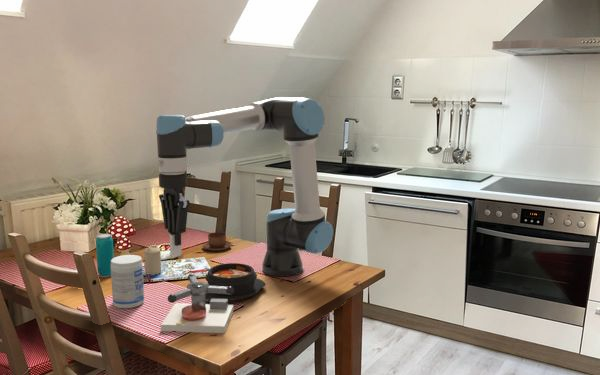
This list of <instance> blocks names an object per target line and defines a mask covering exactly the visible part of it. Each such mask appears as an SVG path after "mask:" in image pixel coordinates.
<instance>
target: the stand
mask: <svg viewBox="0 0 600 375" xmlns="http://www.w3.org/2000/svg"><path fill="white" fill-rule="evenodd" d="M189 305H192V303H185V302H184V303H183V302H182V303H181V302H179V303H177V302H174V305H173V307H172V308H171V309H170V310H169V312H168V313H167V315H166V317H165V318H164V320H162V322H161V324H160V332H170V331H176V333H206V334H208V333H210V334H211V333H212V334H225V333H226V331H227V328H228V327H229V326H228V325H229V323H230V320H231V319H232V317H233V316H232V315H233V313H234V311H235V310H234V304H229V301H228V299H211V300H210V302H209V303H205V306H206V316H205V317H204V318H202V319H200V320H194V321H190V320H185V319H183V318H182V309H183V308H184V307H186V306H189Z"/></svg>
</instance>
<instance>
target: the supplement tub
mask: <svg viewBox="0 0 600 375" xmlns="http://www.w3.org/2000/svg"><path fill="white" fill-rule="evenodd" d="M143 268H144V267H143V258H142V256H140V255H137V254H123V255H118V256H114V258H113V259H112V260H111V277H110V280H111V290H112V291H111V293H112V294H111V295H112V303H113V306H114V307H115V308H118V309H133V308H137V307H139V306H141V305H142V304H143V303H144V302H145V290H144V289H145V286H144V269H143Z"/></svg>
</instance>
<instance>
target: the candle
mask: <svg viewBox="0 0 600 375" xmlns="http://www.w3.org/2000/svg"><path fill="white" fill-rule="evenodd" d="M161 254H162V253H161V249H160V248H159V247H158V246H157V245H153V246H152V245H150V246H148V247H147V248H146V249H145V250H144V261H145V262H144V264H145V265H144V266H145V274H146V273H148V274H158V275H160V274H161V273H162V260H161V259H162V257H161ZM159 273H160V274H159Z"/></svg>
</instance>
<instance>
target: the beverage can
mask: <svg viewBox="0 0 600 375" xmlns="http://www.w3.org/2000/svg"><path fill="white" fill-rule="evenodd" d="M112 236H113V235H112V234H111V233H100V234H97V235H96V239H95V249H96V250H95V251H96V266H97V274H98V275H99V277H100V278H103V279H104V278H105V279H106V278H111V260H112V259H113V258H115V253H114V238H113V237H112Z"/></svg>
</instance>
